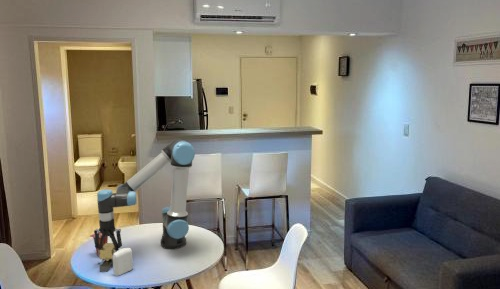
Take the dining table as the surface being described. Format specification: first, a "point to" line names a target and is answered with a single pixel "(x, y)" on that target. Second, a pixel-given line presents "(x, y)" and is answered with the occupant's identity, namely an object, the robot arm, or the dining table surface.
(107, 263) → the rail
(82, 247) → the dining table surface
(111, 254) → the mottled tan brick
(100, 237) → the cup
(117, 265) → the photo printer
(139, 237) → the dining table surface
